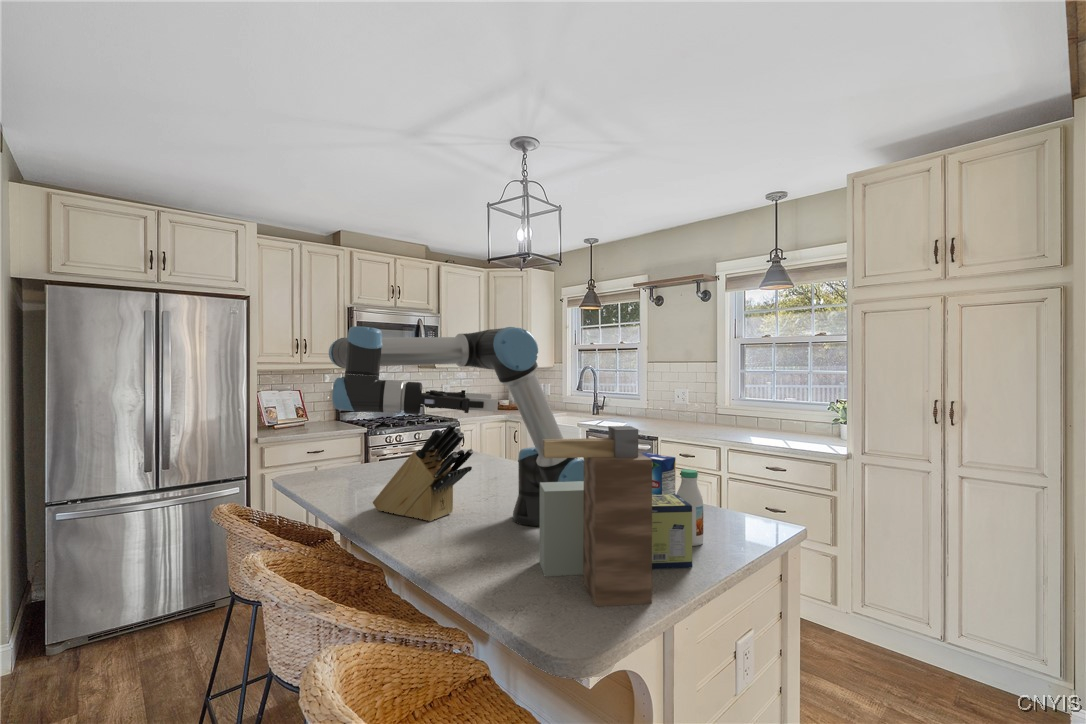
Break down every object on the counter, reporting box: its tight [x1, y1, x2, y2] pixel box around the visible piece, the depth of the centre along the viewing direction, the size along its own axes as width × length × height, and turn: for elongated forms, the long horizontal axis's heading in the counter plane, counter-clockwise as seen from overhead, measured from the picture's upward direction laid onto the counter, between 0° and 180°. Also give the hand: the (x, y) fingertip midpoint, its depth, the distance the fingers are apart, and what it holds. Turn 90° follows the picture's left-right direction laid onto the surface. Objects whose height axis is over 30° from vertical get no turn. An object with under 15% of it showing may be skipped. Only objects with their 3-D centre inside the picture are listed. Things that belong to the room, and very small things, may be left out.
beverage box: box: [640, 452, 677, 495], centre depth 155 cm, size 7×11×22 cm, turn 40°
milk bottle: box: [675, 468, 704, 547], centre depth 144 cm, size 8×8×20 cm
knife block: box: [372, 421, 474, 522], centre depth 169 cm, size 11×35×31 cm, turn 60°
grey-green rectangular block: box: [538, 481, 584, 578], centre depth 125 cm, size 9×13×20 cm
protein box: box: [652, 493, 693, 570], centre depth 130 cm, size 10×16×16 cm
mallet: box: [543, 425, 639, 459], centre depth 111 cm, size 6×20×6 cm, turn 98°
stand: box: [582, 451, 653, 608], centre depth 112 cm, size 12×12×30 cm
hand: (494, 402), depth 124 cm, fingers open, 13 cm apart
